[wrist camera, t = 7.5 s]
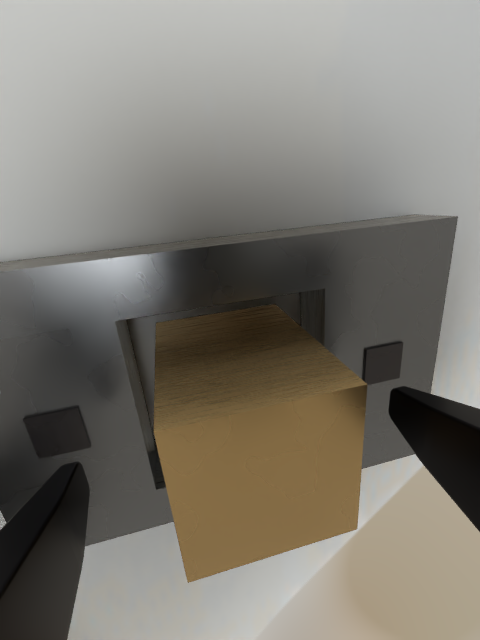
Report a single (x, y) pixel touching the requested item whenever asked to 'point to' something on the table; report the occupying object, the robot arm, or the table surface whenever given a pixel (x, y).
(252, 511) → the wooden block
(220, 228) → the table surface
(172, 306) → the grey slotted plate
